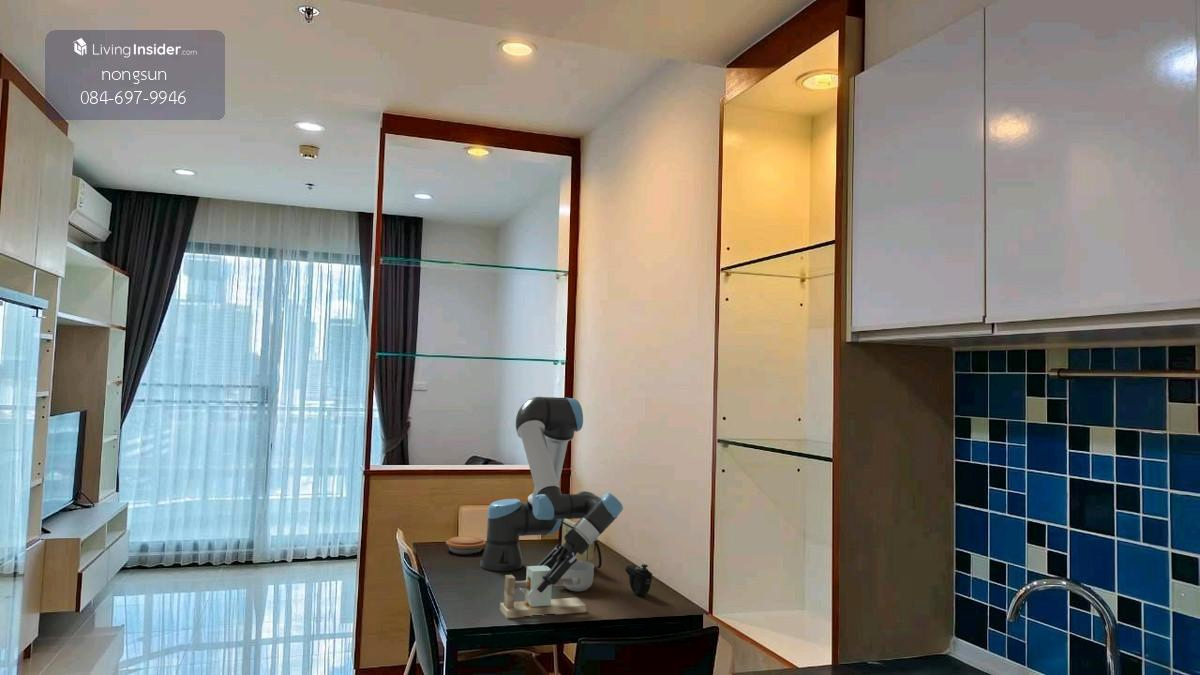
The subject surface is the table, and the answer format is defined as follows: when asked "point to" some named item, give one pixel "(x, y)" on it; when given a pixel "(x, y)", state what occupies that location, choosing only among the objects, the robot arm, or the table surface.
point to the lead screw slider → (524, 609)
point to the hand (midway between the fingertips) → (526, 595)
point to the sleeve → (535, 576)
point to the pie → (465, 544)
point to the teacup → (580, 575)
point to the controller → (639, 579)
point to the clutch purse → (589, 553)
